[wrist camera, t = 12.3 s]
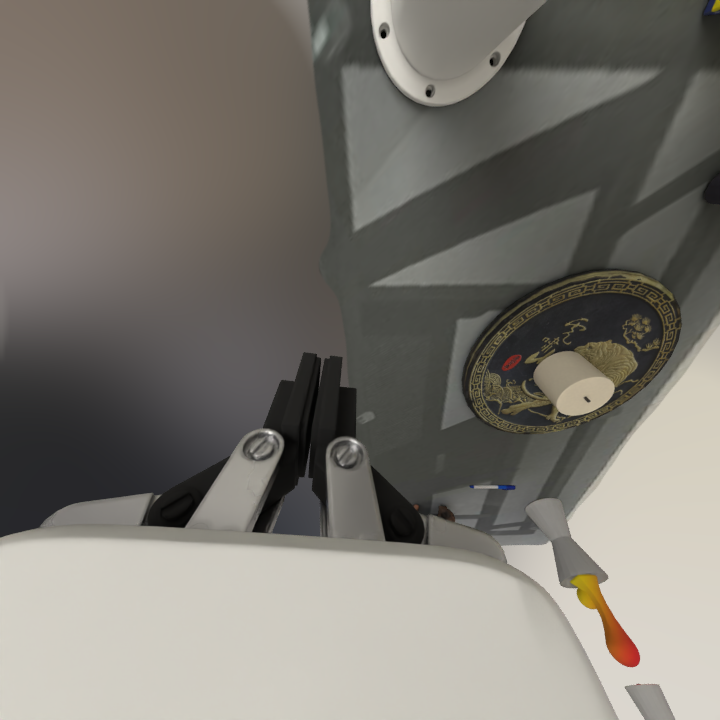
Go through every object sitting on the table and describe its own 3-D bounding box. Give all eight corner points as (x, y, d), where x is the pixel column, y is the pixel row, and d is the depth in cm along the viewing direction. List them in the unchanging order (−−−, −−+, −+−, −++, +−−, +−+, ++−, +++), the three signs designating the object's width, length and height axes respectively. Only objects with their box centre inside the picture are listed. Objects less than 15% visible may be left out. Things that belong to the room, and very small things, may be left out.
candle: (550, 347, 38) (582, 377, 33) (593, 354, 39) (633, 385, 33) (524, 384, 42) (549, 416, 37) (564, 390, 43) (595, 423, 37)
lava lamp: (531, 497, 65) (666, 753, 37) (568, 497, 65) (733, 753, 36) (519, 516, 70) (629, 752, 42) (554, 515, 70) (688, 752, 42)
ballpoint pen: (515, 484, 62) (517, 488, 61) (513, 486, 63) (515, 490, 62) (469, 484, 62) (471, 488, 61) (468, 486, 63) (470, 490, 62)
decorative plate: (424, 390, 43) (618, 217, 29) (422, 382, 44) (605, 214, 30) (536, 454, 53) (720, 350, 39) (531, 446, 54) (706, 344, 40)
